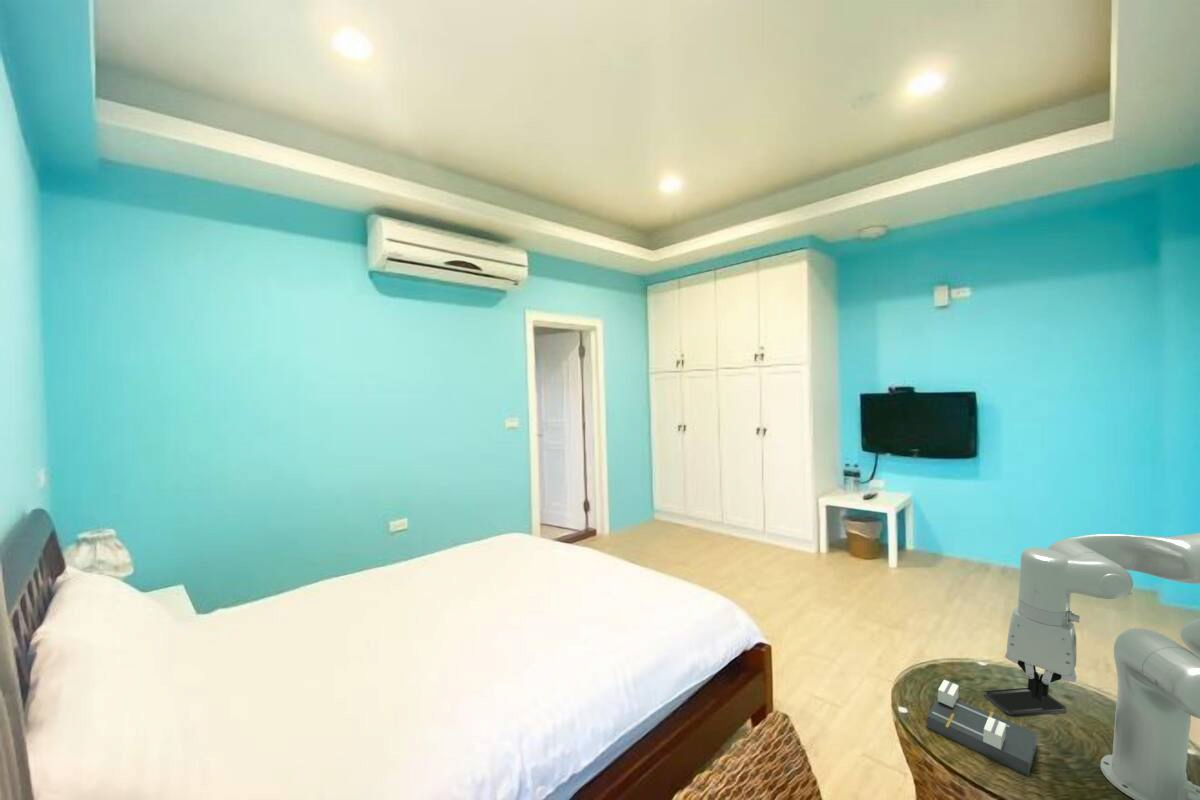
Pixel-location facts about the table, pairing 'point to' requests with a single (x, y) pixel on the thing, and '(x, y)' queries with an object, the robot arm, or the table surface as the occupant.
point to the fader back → (948, 693)
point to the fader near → (994, 732)
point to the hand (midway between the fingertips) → (1037, 696)
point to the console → (969, 730)
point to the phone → (1023, 702)
